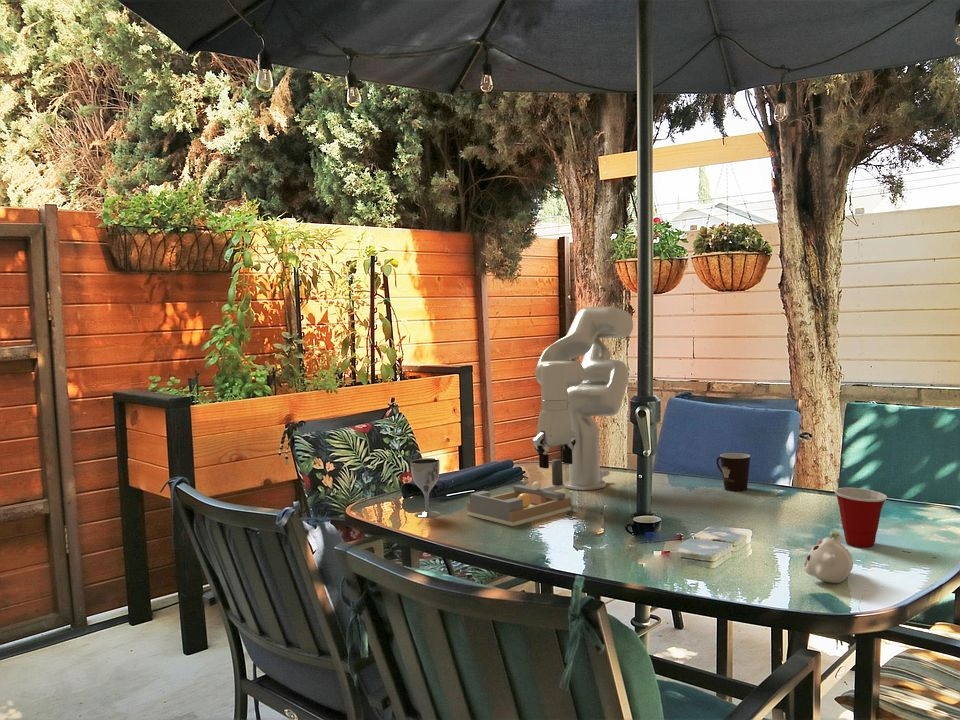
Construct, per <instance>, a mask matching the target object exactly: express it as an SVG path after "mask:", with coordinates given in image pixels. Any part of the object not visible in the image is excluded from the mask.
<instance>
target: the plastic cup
mask: <svg viewBox="0 0 960 720" xmlns="http://www.w3.org/2000/svg"><path fill="white" fill-rule="evenodd" d="M834 494H835V495H836V500H837V505H838V507H839V514H840V520H841V525H842V529H843V535H844V540H845V542H846V545H847V546H850V547H854V548H866V549H867V548H872V547H874V546H875V543H876V539H877V538H876V537H877V532H878V528H879V524H880V519H881V514H882V509H883V506H884V503H885V501H886V500H887V499H888V496H887V495H886V494H884V493H882V492H879V491H877V490H876V491H875V490H872V489H868V488H858V487H838V488H836V489H834Z"/></svg>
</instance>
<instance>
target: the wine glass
mask: <svg viewBox="0 0 960 720" xmlns="http://www.w3.org/2000/svg"><path fill="white" fill-rule="evenodd" d="M440 465H441V463H440V459H438V458H433V457H430V458H428V457H427V458H417V459H412V460H410V472H411V476H412V477H411V478H412V480H413V482H414V483H415V485H416V486H417V487H418V488H419V489H420V490H421V492H422V493H423V497H424V502H425V503H424V504H425V510H423V511H419V512H416V513H414V517H416V518H420V519H423V518H424V519H429V518H430V519H431V518H436V517H439V516H440V515H441V512H440V511H436V510H435V511H434V510H430V508H429V497H430V492H431V491H432V490H433V488H434V486H435V485H436V484H437V483H438V479H439V477H440Z"/></svg>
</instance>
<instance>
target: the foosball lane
mask: <svg viewBox="0 0 960 720" xmlns="http://www.w3.org/2000/svg"><path fill="white" fill-rule="evenodd" d="M522 493H525V492H520V491H515V490H512V491H509V492H508V491H507V492H504V493H501V494H496V495H492V496H491V491H485V490H481V491H476V492H473V493H472V492H471V493H469V501H467V502H466V506H467V507H466V509H467V516H469V517H474V518H477V519H478V518H479V519H483V520H487V521H491V522H493V523H494V522H495V523H498V524H502V525H506V526H510V527H515V526H518V525H522V524H526V523H529V522H533V521H537V520H540V519H544V518H547V517H550V516H554V515H558V514H562V513H565V512H569V511H571V509H572V506H571V504H572V503H571V497H569V496H565V498H563V499H554V498H549V497H546V503H542V504H535V503H531V504H530V505H529V506H528V507H526V508H523V499H520V498H517V497H518V496H519V495H520V494H522ZM526 494H529V493H526Z"/></svg>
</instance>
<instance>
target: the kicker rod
mask: <svg viewBox="0 0 960 720" xmlns="http://www.w3.org/2000/svg"><path fill="white" fill-rule="evenodd" d="M563 473H564V472H563V459H561V458H555V459H551V480H552V483H551V484H552V485H549V486H545V487H542V485H541V483H540V481H534V482H532V485H531V486H529V485H524V484H516V485H513V486H512V487H513V490H512V491H520V492H525V493H529V494H528V495H529V496H530V497H531V503H535V504H542V503H546V497H549V498H554V499H563V498H565V497H566V493H565V492H559V490H560V491H561V490H563V489H565V488H566V487H565V483H564V477H563V476H564V475H563Z"/></svg>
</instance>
